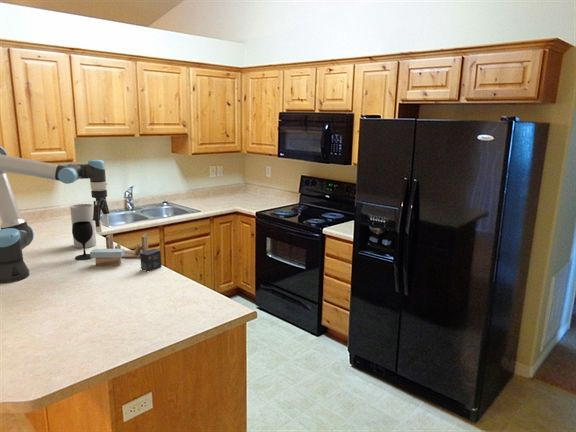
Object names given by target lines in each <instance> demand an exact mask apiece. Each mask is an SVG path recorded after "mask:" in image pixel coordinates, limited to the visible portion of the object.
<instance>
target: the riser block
mask: <svg viewBox="0 0 576 432" xmlns="http://www.w3.org/2000/svg"><path fill="white" fill-rule="evenodd" d="M94 259H95V260H94V261H95V266H96V267H115V266H117V265H119V266H120V265H121V264H122V259H121V257H111V258H94ZM117 267H118V266H117Z"/></svg>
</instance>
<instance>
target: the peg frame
mask: <svg viewBox="0 0 576 432" xmlns="http://www.w3.org/2000/svg"><path fill="white" fill-rule="evenodd" d="M113 235H114V234H113V233H109V234H108V235H106V236H105V245H106V246H105V247H106V248H105V249H122V247H121V243H117V244H116V245H114V236H113ZM148 250H149V237H148V233H147V232H145V233H143V235H142V236H141V243H136V245H134V249H133V250H132V249H131V250H129V249H126V250H125V254H124V255H123V257H121V258H125V259H140V253H142V252H145V251H148Z"/></svg>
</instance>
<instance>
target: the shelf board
mask: <svg viewBox="0 0 576 432" xmlns="http://www.w3.org/2000/svg"><path fill="white" fill-rule="evenodd" d="M89 254H90V258H92V259H95V258H111V257H123V255H124V254H125V248H121V249H115V248H114V249H107V248H93V249H92V250H91V251H89Z"/></svg>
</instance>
